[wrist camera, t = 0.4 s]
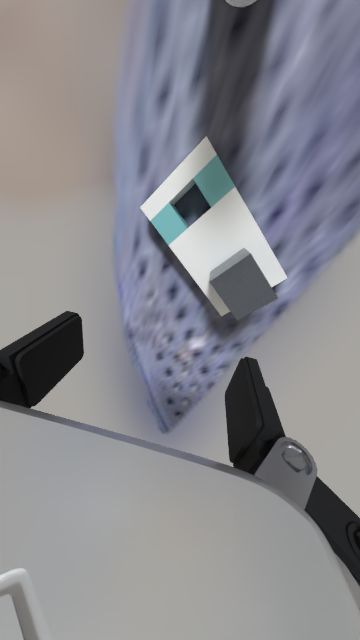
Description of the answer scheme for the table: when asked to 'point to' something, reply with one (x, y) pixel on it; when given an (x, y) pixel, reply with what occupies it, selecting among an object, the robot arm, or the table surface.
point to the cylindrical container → (240, 2)
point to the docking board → (209, 222)
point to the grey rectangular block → (241, 284)
